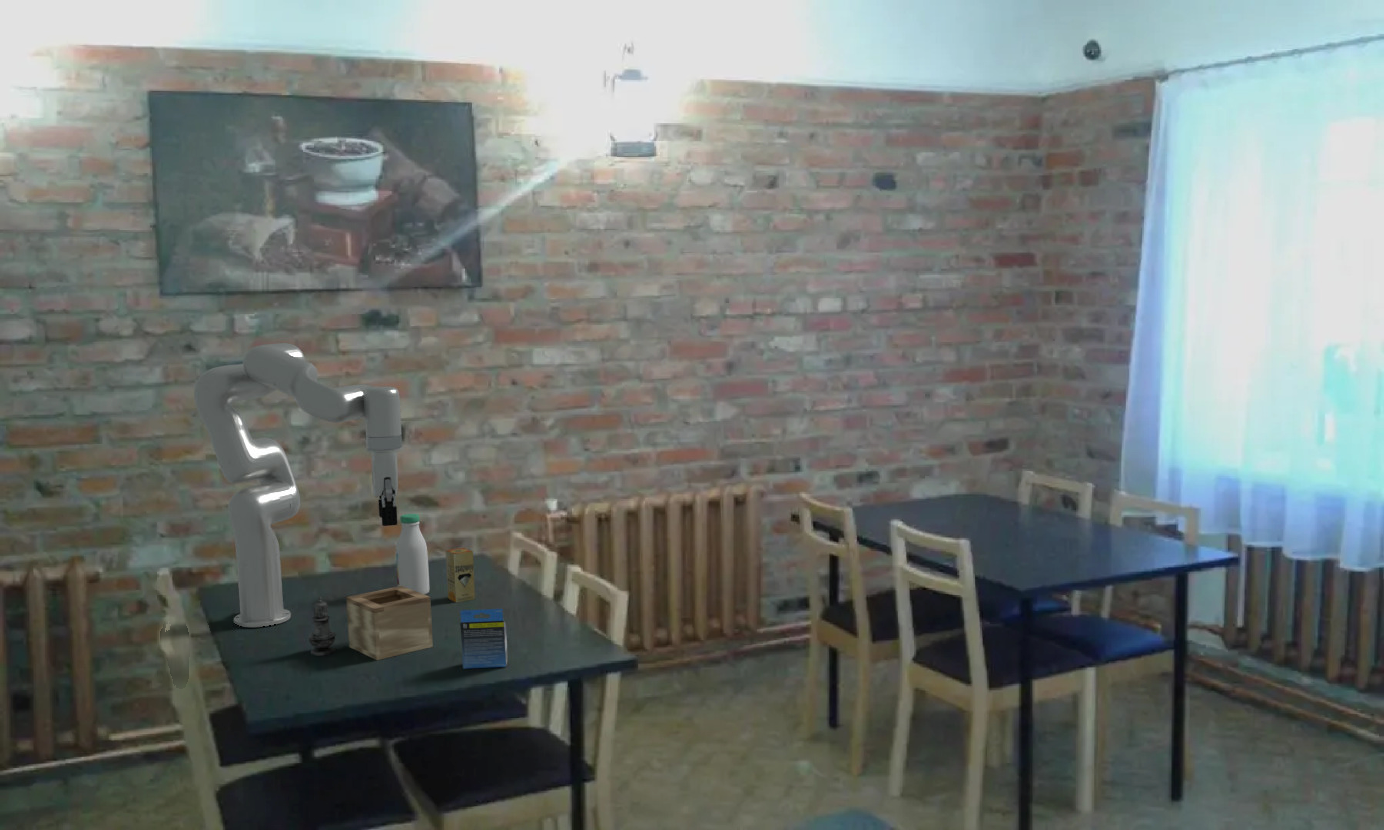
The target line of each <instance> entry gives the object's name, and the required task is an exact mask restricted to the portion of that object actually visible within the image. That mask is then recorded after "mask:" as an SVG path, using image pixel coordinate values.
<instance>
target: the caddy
mask: <svg viewBox="0 0 1384 830" xmlns="http://www.w3.org/2000/svg"><path fill="white" fill-rule="evenodd" d="M345 599H346V612H347V613H346V614H347V616H346V618H347V632H348V647H349V648H351V649H353V650H355V651H357V652H359V653H361V654H364V655H365V656H368V657H370V658H372V659H373V660H375V661H380V660H384V659H387V658H388V659H389V658H392V657H395V656H400V655H404V654H409V653H412V652H417V651H421V650H426V649H429V648H432V647H433V646H434V645H433V625H432V623H433V622H432V607H431V605H432V603H431V596H430V595H427V594H425V595H424V594H422V593H419V592H416V591H414V590H411V589H408V588H406V587H403V586H398V585H397V586H394V587H393V586H392V587H390V588H384V589H379V590H376V591H371V592H365V593H364V592H363V593H359V594H356V595H351V596H346V597H345Z"/></svg>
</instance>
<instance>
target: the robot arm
mask: <svg viewBox="0 0 1384 830" xmlns="http://www.w3.org/2000/svg"><path fill="white" fill-rule="evenodd" d="M318 374H319V373H318V369H317V368H316V366H315V364H313V363H311V362H308V361H306V357H305V354H304V353H303V351H302V350H301V349H300V348H299V347H298V346H296V345H294V344H293V343H289V342H288V343H287V342H281V343H269V344H261V345H257V346H253V347H252V348H250V349H249V350H248V351H247V353H246V354H245V355H244V357H243V361H242V363H240V364H239V363H238V364H229V365H221V366H217V367H213V368H210V369H208V370H206V371H204V372H203V373H201V375H200V376H199V377H198V379H197V380H196V382H195V386H194V389H193V390H194V391H193V399H194V404H195V407H196V410H197V413H198V414H199V417H200V418H201V420H202V422H203V424H204V426H205V428H206V430H207V433H208V436H209V439H210V442H211V445H212V448H213V451H214V453H215V456H216V460H217V463H218V466H219V468H220V471H221V473H222V475H223V477H224V479H225V480H227V482H229V483H231V484H245V483H248V482H252V481H257V480H258V481H259V482H260V484H256V485H253V486H249V487H245V488H242V489H240V490H239V491H236V492H235V493H234V494H233V495H232V497H231V498H230V500H229V502H228V504H227V505H228V506H227V510H228V517H229V521H230V525H231V527H232V532H233V539H234V544H235V556H236V557H235V558H236V568H237V583H238V598H239V611H240V613H239V614H237V615H236V616H235V617H233V623H235V624H237V625H239V626H238V627H240V626H242V627H241V628H263V626H265V627H270V626H269V625H271V626H275V625H274V624H276V625H279V624H283V623H285V622H287V621H288V620H290V619H291V616H292V613H291V611H290V610H288V609H285V608H284V600H283V598H284V597H283V583H282V569H281V568H282V567H281V565H282V564H281V554H280V544H279V541H278V538H277V536H276V533H275V532H274V530H273V529H272V527H271V525H273V524H276V523H280V522H283V521H286V520H289V519H291V518H293V517H294V516H296V515H297V514H298V512H299V510H300V507H301V495H300V492H299V491H300V490H299V488H298V485H297V481H296V479H295V477H294V473H293V470H292V467H291V465H290V462H289V460H288V459H289V458H288V457H287V455H286V454H287V453H286V452H285V450H284V448H283V447H282V445H281V444H280V443H278V442H277V441H276V440H275V439H272V438H269V437H260V438H252V436H251V433H250V431H249V428H248V425H247V423H246V420H245V419H244V417H243V415H242V414H241V413H240V412H239V411H238V410H237V409H236V408H235V407H234V406H233V405H232V404H233V402H234V403H235V402H242V401H248V400H256V399H260V398H264V397H266V396H268V395H270V394H272V393H273V392H275V391H279V392H281V393H282V394H285V395H288V396H290V397H291V398H292V399H293V400H294V403H295V404H296V405H297V406H298V408H299V409H300V410H301V411H303V412H305V413H306V414H308V415H310V416H312V417H315V418H318V419H320V420H323V421H325V422H328V423H334V424H335V423H336V424H337V423H344V422H350V421H355V420H360V419H361V420H362V419H364V427H365V444H366V445H365V446H366V452H367V453H371V476H372V479H371V480H372V493H373V496H374V497H375V498H376V499H378V516H379V518H381V524H382V526H383V527H390V526H397V525H398V507H397V505H396V504H397V503H396V497H397V495H398V490H399V487H398V485H399V484H398V483H399V472H398V470H399V469H398V452H399V451H402V450H403V438H402V421H401V420H402V419H401V418H402V417H401V401H400V400H401V399H400V392H399V390H398V388H397V387H394V386H385V385H384V386H374V385H369V384H353V385H344V386H338V387H330V386H328V385H324V384H322V383H320V382H318V377H319V375H318ZM235 624H234V625H235ZM237 625H236V626H237Z"/></svg>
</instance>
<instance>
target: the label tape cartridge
mask: <svg viewBox="0 0 1384 830" xmlns="http://www.w3.org/2000/svg"><path fill="white" fill-rule="evenodd" d="M503 612H504V611H503V607H502V608H479V609H478V608H477V609H475V608H474V609H459V616H460V618H459V619H460V620H459V626H460V628H459V629H460V640H461V655H462V656H461V658H462V659H461V660H462V669H464V670H466V669H469V670H470V669H485V668H506V667H507V665H508V641H507V640H508V639H507V638H508V637H507V623H506V622H505V621H504V620H505V619H504V613H503ZM481 614H482V615H486V616H487V615H488V616H487V617H485V616H484V617H475V616H479V615H481Z"/></svg>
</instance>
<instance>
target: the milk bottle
mask: <svg viewBox="0 0 1384 830" xmlns="http://www.w3.org/2000/svg"><path fill="white" fill-rule="evenodd" d="M399 517H400V525H401V531H400V535H399V537H398V539H397V542H396V546H395V547H396V548H395V562H396V580H397V581H396V582H397V587H398V586H403V587H406V588H408V589H411V590H414V591H416V592H419V593H422V594H424V595H427V594H429V593H430V575H429V574H430V573H429V557H428V548H427V542H426V540H425V538H424V536H423V534H422V532H421V530H420V515H419V514H418V513H406V514H402V515H400V516H399Z"/></svg>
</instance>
